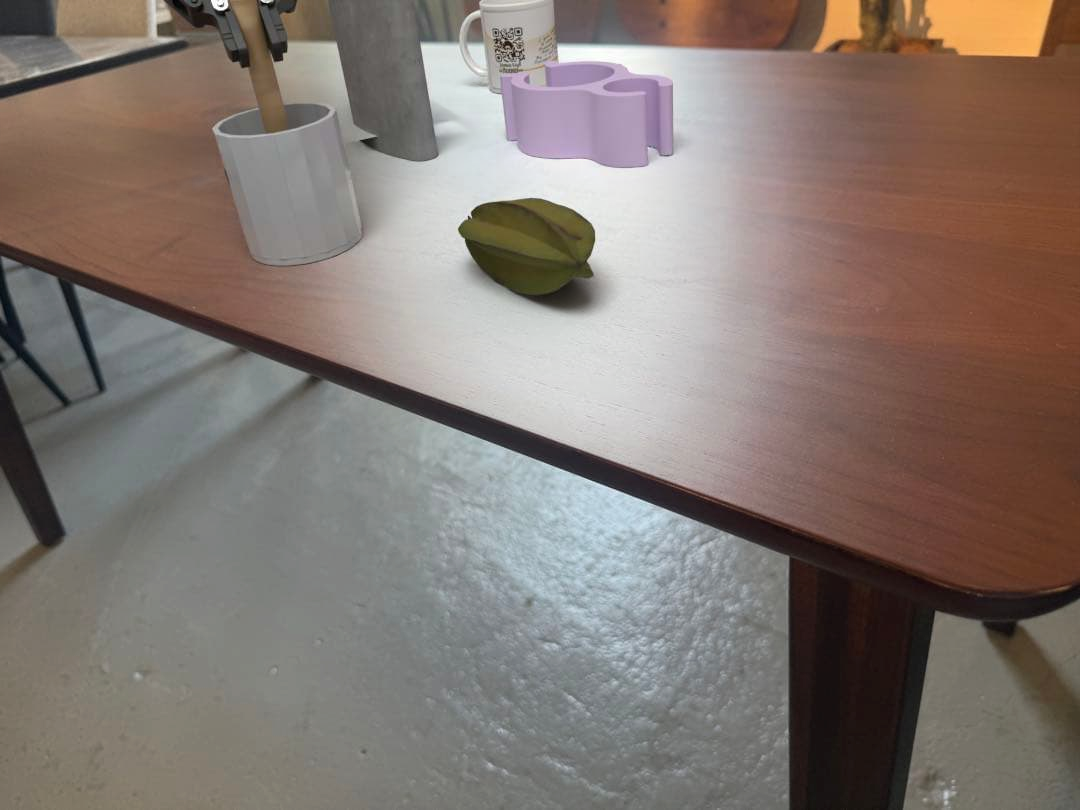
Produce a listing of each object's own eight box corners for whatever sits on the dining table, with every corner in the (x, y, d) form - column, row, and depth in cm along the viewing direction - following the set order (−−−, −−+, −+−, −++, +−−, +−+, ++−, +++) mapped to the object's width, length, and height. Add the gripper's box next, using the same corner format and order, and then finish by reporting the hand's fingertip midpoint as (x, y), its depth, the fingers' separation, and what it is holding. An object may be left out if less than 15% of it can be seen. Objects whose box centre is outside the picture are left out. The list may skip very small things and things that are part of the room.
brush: (282, 231, 74) (219, 4, 64) (274, 217, 77) (213, -1, 67) (328, 220, 75) (273, -4, 65) (318, 207, 78) (264, -9, 68)
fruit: (610, 250, 70) (606, 170, 66) (594, 321, 60) (588, 232, 56) (474, 253, 72) (463, 176, 68) (436, 322, 62) (421, 236, 58)
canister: (260, 276, 72) (221, 145, 66) (242, 238, 80) (205, 118, 74) (375, 246, 75) (348, 118, 69) (347, 212, 83) (320, 95, 77)
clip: (699, 143, 90) (699, 75, 86) (615, 177, 84) (612, 105, 80) (569, 116, 103) (565, 56, 100) (489, 144, 97) (481, 80, 93)
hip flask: (443, 155, 95) (411, -47, 84) (412, 165, 93) (375, -41, 82) (375, 131, 106) (339, -51, 95) (345, 139, 104) (305, -45, 93)
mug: (513, 99, 113) (504, 8, 107) (462, 87, 121) (450, 2, 115) (574, 81, 118) (568, -7, 112) (521, 71, 126) (512, -12, 120)
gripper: (93, -156, 64) (161, 42, 61) (277, -175, 68) (349, 10, 65) (116, -77, 71) (178, 104, 68) (282, -99, 75) (347, 71, 72)
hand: (262, 57), depth 67 cm, fingers closed on brush, 2 cm apart
